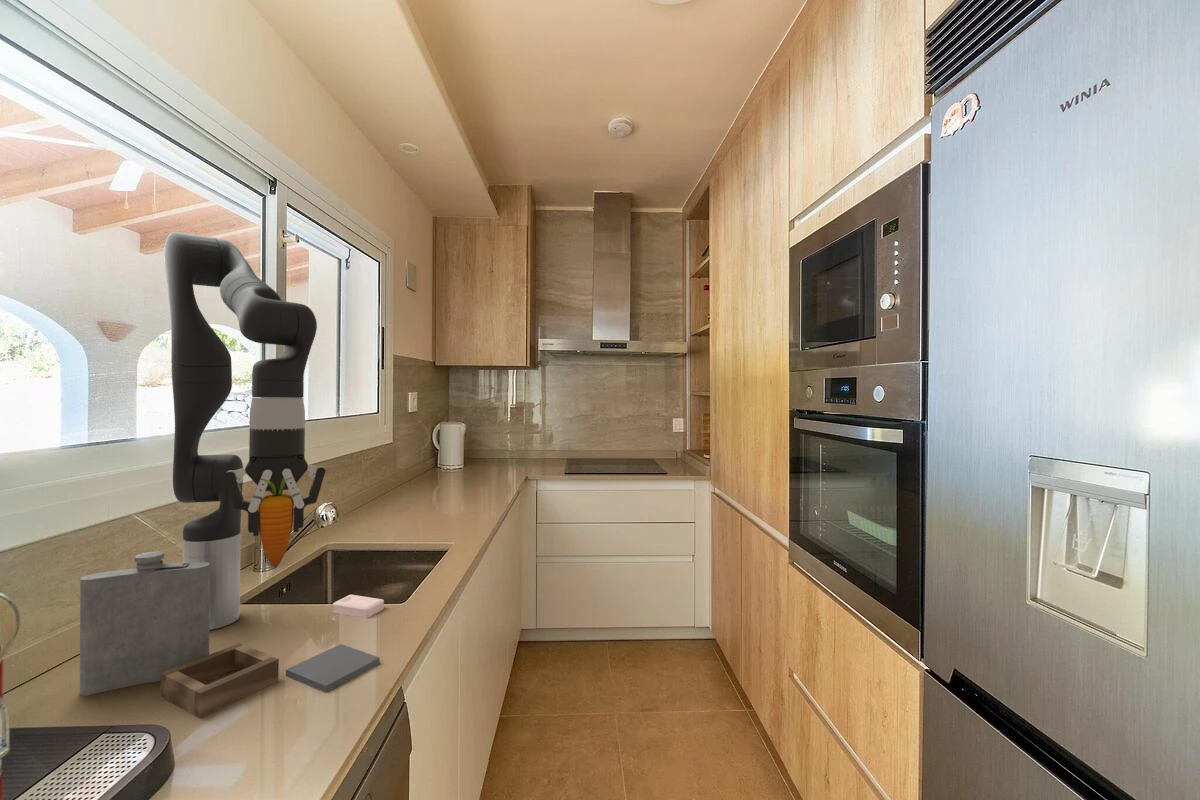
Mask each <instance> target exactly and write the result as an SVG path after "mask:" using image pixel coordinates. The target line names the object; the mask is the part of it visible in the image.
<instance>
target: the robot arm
mask: <svg viewBox="0 0 1200 800" xmlns="http://www.w3.org/2000/svg"><path fill="white" fill-rule="evenodd" d="M163 249H164V252H163V256H164V260H163V261H164V270H165V279H166V285H167V294H168V302H169V311H170V313H169V314H170V329H171V330H170V333H171V338H170V339H171V365H170V366H171V380H172V381H171V382H172V383H171V385H172V393H173V394H172V395H173V410H174V411H173V412H174V415H173V416H174V438H173V439H174V442H173V443H174V445H173V460H172V461H173V462H172V464H173V465H172V488H173V494H174V496H175V499H176V500H177V501H179V502H180V503H183V504H185V503H186V504H187V503H188V504H189V503H208V502H209V503H213V502H219V506H218V509H216V510H215V511H213V512H211V513H209V514H207V515H205V516H202V517H201V516H200V517H199V518H195V519H192V520H190V521H188V522H186V524H184V526H183V529H182V563H183V562H190V563H199V562H208V563H210V608H209V631H212V630H216V629H220V628H224V627H226V626H228V625H231V624H233V623H234V622H236V621H238V619H239V618H240V615H241V614H240V613H241V530H242V529H241V528H242V527H241V523H242V511H245V512H247V515H248V516H247V530H248V532H249V534H253V537H258V536H259V537H260V532H259V512H258V506H259V504H260V502H261V499H262V498H263V497H264V494H265V492H270V491H272V490H273V489H272V488H271V486H270V485H268V484H266V481H271V482H272V483H273V484H274V485H275V488H276V489H280V488H281V482H282V480H283V478H284V479H285V481H286V484H285V486H284V488H283V489H280V490H283V491H287V490H288V491H289V493H290V496H291V497H292V498H293V501H294V508H293V525H292V529H293V531H292V532H293V533H299V529H302V528H303V527H304V526H305V525H304V523H305V522H304V519H305V518H304V516H305V515H304V514H305V511H304V510H305V508H306V507H307V506H309V505H312V504H316V503H317V501H318V498H319V494H320V491H321V488H322V484H323V481H324V478H325V474H326V468H325V467H324V466H322V465H319V466H318V465H311V464H308V462H307V460H306V458H305V456H306V454H305V451H306V449H305V446H306V444H305V442H306V431H305V430H306V410H305V401H304V400H305V399H304V396H305V395H304V386H305V385H304V384H305V381H304V379H305V377H304V376H305V370H306V366H307V362H308V359H309V355H310V353H311V352H310V351H311V349H312V346H313V343H314V341H315V337H316V334H317V330H318V329H317V328H318V323H317V319H316V315H315V314H314V312H313V309H311V308H310V307H309V306H307V305H305V304H303V303H298V302H293V301H292V302H290V301H287V300H286V301H285V300H282V298H281V297H280V295H279V294H278V292H276V291H275V290H274V289H273V288H272V287H271V286H269V285H268V284H267V283H265V282H264V281H263V280H262V279H260V278H259V277H258V276H257V274H256V273H255V271H253V268H251V265H250V263H249V262H248V261H247V260H246V258H245V257H244V255H243V254H242V253H241V251H240V250H239V248H238V247H237V246H236V245H234V243H232V242H231V241H230V240H226V239H225V238H220V237H213V236H206V235H200V234H193V233H187V232H182V231H181V232H180V231H173V232H171V233H169V234H168V235H167V237H166V240H165V242H164V248H163ZM194 286H203V287H211V288H213V287H214V288H215V287H216V288H219V294H220V298H221V300H222V302H223V304H225V306H226V307H227V308H228V309H229V310H230V311H231V312H232V313H233V314H234V315H236V317H237V321H238V325H239V326H238V327H239V330H240V332H241V335H242V336H243V337H244V338H246V339H247V340H249V341H252V342H255V343H258V344H265V345H276V346H284V350H283V351H282V353H281V355H280V356H279V357H275V358H268V359H267V358H266V359H260V360H258V361H256V362H255V363H254V364H253V365H252V366H253V367H252V372H251V403H250V409H249V438H248V441H249V443H248V445H249V449H248V450H249V454H248V462H247V464H246V465H245V467H244V465H243V461H242V458H241V457H240V456H238V455H237V454H199V452H198V451H199V444H200V440H201V436H202V434H203V433H204V431H205V429H206V427H207V426H208V424H209V423H210V422H211V420H212V419H213V417H214V416H215V414H216V413H217V412H218V411H219V410H220V408H221V407H222V406H223V404H224V403H225V402H226V401H227V399H228V397H229V396H230V393H231V391H232V387H233V370H232V369H233V368H232V357H231V354H230V352H229V349H228V348H227V346H226V344H224V342H223V341H222V339H221V338H220V336H219V335H218V334H217V333H216V332H215V331H214V329H213V328H212V327H211V324H209V322H208V321H207V320H206V318H205V317H204V314H203V313H202V311H201V310H200V308H199V305H198V303H197V299H196V296H195V295H196V294H195V291H194ZM306 472H309V478H310V479H311V480H312V483H311V486H310V488H309V492H308V494H307V495H306V496H304V497H303V496H302V493H301V491H300V488H299V485H298V484H297V483H298V482H299V480H300V479H301V478H302V477H303V476H304V475H305V473H306ZM245 475H247V476H248V477H249V478H250V479H251V480H252V482H254V484H256V488H255V490H254V492H253V495H252V497H251V501H248V500H245V499H244V495H243V485H244V484H243V483H244V476H245Z"/></svg>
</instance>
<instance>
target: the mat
mask: <svg viewBox="0 0 1200 800" xmlns="http://www.w3.org/2000/svg"><path fill="white" fill-rule="evenodd" d="M380 663H381V659H380V657H379V656H377V655H374V654H371V653H368V652H365V651H363V650H360V649H357V648H353V647H351V646H348V645H345V644H342V643H340V644H337V645H336V646H334V647H331V648H328V649H327V650H325V651H323V652H320V653H318V654H316V655H313V656H312V657H309V658H307V659H305V660H303V661H301V662H299V663H297V664H294V665H293V666H290V667H288V668H286V669H285V676H286V677H289V678H291V679H293V680H295V681H297V682H300V683H302V684H305V685H308V686H310V687H312V688H314V689H317V690H319V691H321V692H324V693H327V692H330V690H333V689H335V688H336V687H339V686H340V685H342V684H344V683H346V682H348V681H349V680H351V679H353V678H355V677H357V676H359V675H361V674H363V673H364V672H366V671H368V670H370V669H372V668H374V667H375V666H376V667H377V666H378V665H379V664H380Z"/></svg>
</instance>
